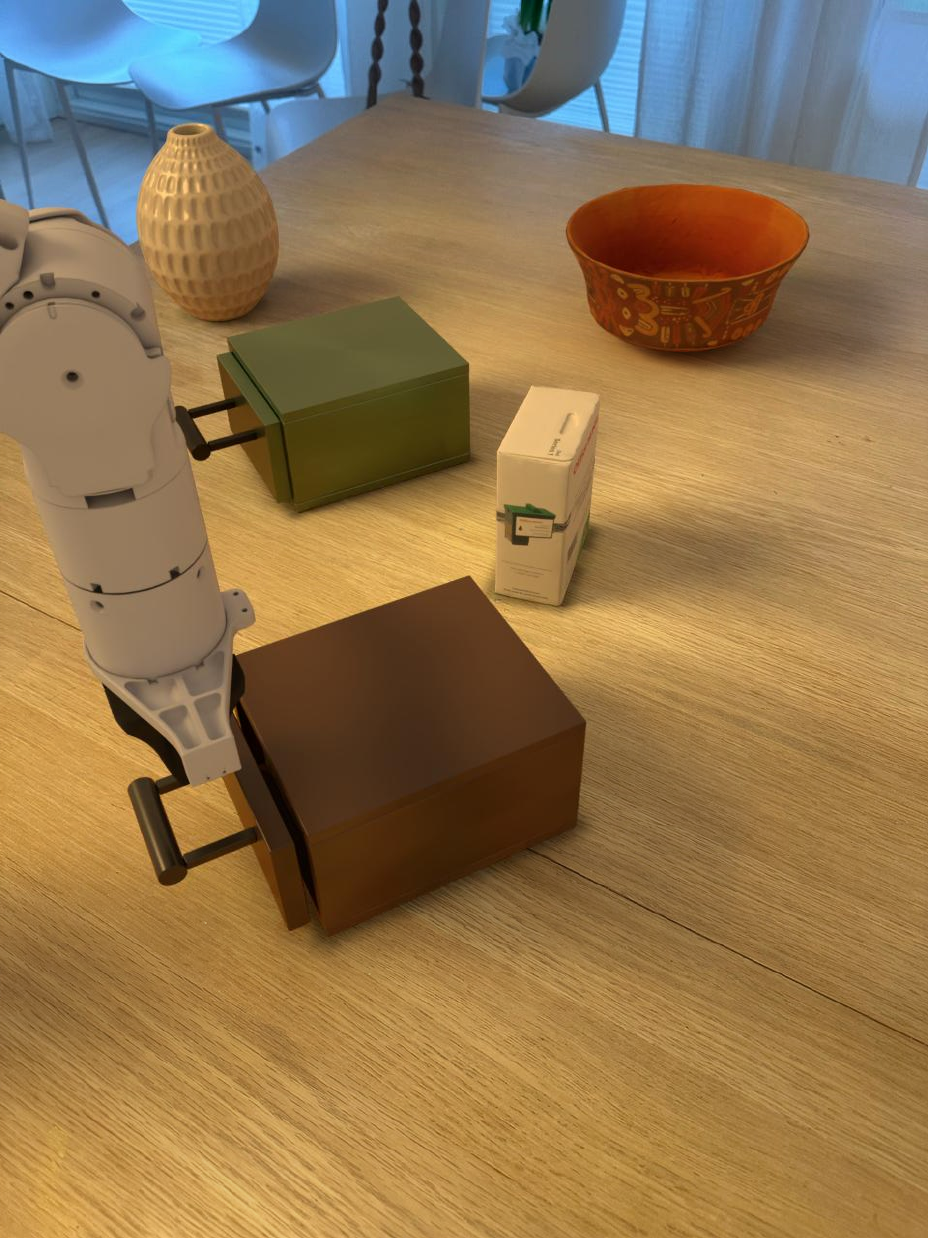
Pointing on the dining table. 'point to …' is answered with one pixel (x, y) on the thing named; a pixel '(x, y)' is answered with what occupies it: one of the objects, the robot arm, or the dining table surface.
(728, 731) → the dining table surface
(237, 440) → the drawer
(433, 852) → the brown drawer cabinet
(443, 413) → the green drawer cabinet
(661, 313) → the bowl
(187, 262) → the vase
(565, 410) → the ink box
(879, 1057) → the dining table surface
